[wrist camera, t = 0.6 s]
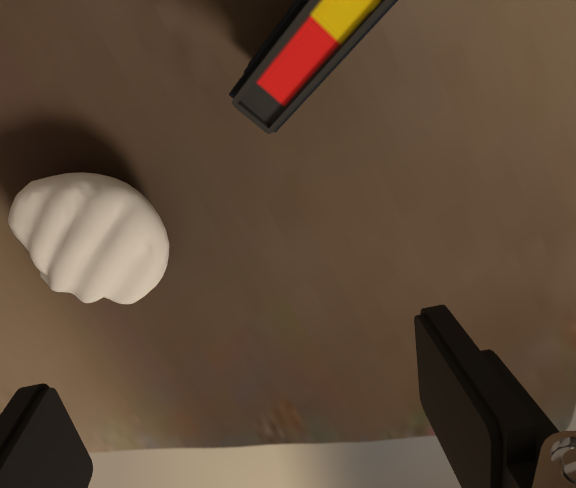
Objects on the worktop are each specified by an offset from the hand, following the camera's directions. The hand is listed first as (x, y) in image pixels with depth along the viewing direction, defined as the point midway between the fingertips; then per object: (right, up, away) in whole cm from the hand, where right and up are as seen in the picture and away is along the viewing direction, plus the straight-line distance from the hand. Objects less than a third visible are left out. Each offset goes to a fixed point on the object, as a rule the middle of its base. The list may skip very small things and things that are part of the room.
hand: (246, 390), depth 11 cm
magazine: (+2, +21, +24) cm, 32 cm away
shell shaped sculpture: (-16, +5, +29) cm, 33 cm away
